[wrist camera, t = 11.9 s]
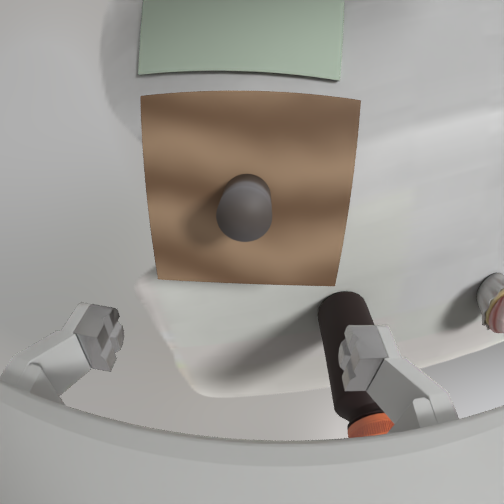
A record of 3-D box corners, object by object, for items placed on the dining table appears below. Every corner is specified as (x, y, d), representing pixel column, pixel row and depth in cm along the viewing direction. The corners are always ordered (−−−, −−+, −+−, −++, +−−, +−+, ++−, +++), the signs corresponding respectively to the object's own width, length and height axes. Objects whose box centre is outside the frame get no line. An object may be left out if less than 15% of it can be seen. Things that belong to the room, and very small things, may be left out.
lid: (145, 95, 20) (117, 98, 16) (356, 99, 20) (380, 102, 16) (161, 273, 28) (145, 306, 24) (332, 279, 28) (343, 315, 24)
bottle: (310, 324, 41) (328, 459, 24) (327, 285, 38) (362, 427, 20) (353, 331, 42) (386, 455, 24) (373, 294, 38) (424, 424, 21)
